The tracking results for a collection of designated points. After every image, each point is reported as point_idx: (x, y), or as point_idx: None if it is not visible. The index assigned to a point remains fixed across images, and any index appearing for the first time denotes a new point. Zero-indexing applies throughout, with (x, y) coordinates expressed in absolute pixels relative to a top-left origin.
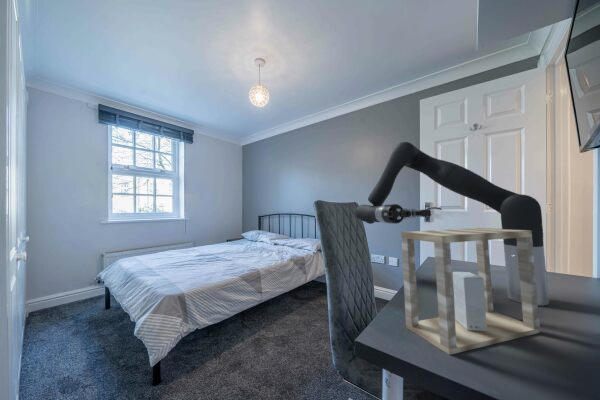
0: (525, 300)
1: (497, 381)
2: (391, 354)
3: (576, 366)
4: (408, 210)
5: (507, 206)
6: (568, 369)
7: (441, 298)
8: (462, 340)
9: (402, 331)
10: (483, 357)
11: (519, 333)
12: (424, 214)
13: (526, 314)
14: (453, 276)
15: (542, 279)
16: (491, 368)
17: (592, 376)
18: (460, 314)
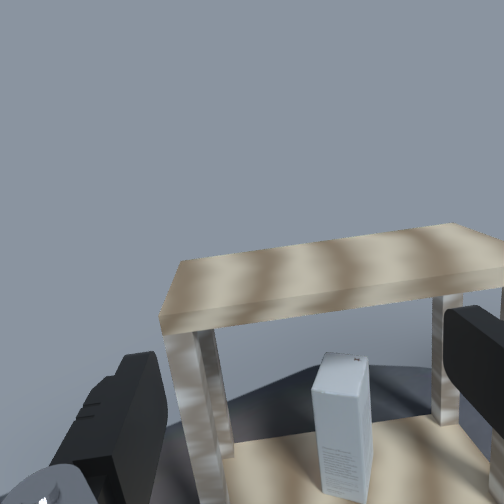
0: (226, 406)
1: (407, 378)
2: None
3: (281, 388)
4: (461, 308)
5: None
6: (298, 386)
7: None
8: (407, 429)
9: None
10: (392, 410)
11: (275, 438)
12: (147, 452)
13: (230, 431)
14: (360, 403)
15: None
16: (398, 393)
17: (286, 377)
18: (369, 456)
